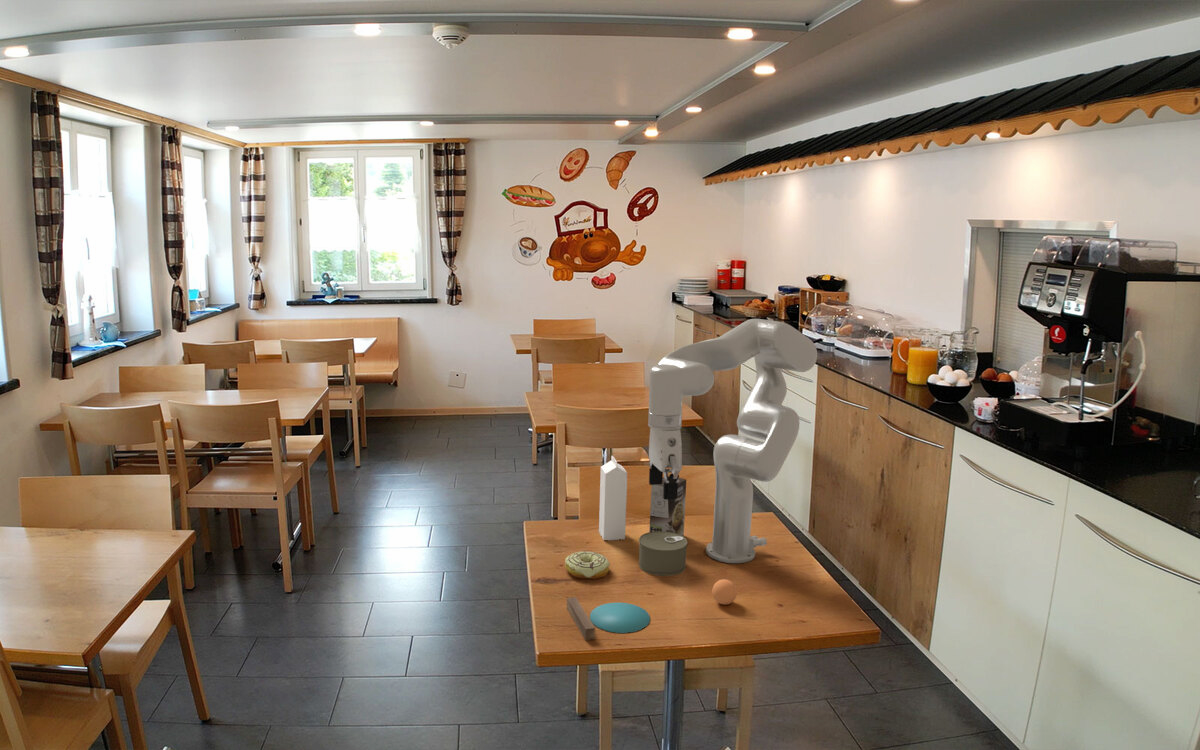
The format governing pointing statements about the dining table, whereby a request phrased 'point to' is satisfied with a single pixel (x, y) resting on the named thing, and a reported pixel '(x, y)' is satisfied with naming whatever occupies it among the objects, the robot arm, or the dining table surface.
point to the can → (662, 553)
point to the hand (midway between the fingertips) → (662, 491)
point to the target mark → (619, 617)
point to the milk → (612, 501)
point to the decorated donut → (587, 565)
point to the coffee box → (668, 509)
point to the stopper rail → (580, 618)
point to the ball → (724, 591)
